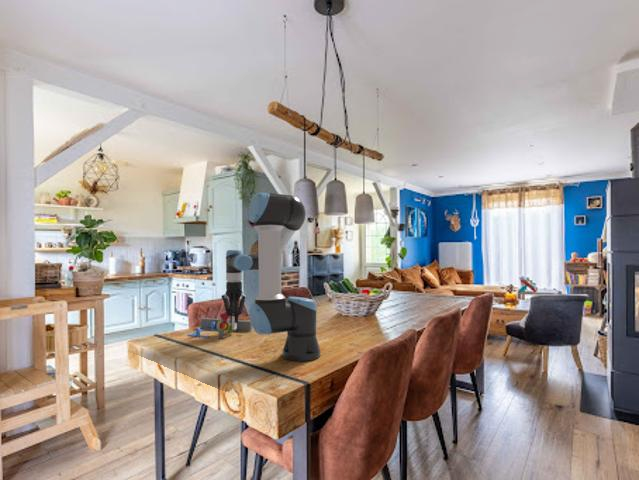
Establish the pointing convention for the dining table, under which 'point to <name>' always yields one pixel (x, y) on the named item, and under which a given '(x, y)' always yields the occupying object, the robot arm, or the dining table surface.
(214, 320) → the duct rack
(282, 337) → the dining table surface
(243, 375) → the dining table surface
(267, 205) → the robot arm
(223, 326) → the bird rattle
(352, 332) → the dining table surface
